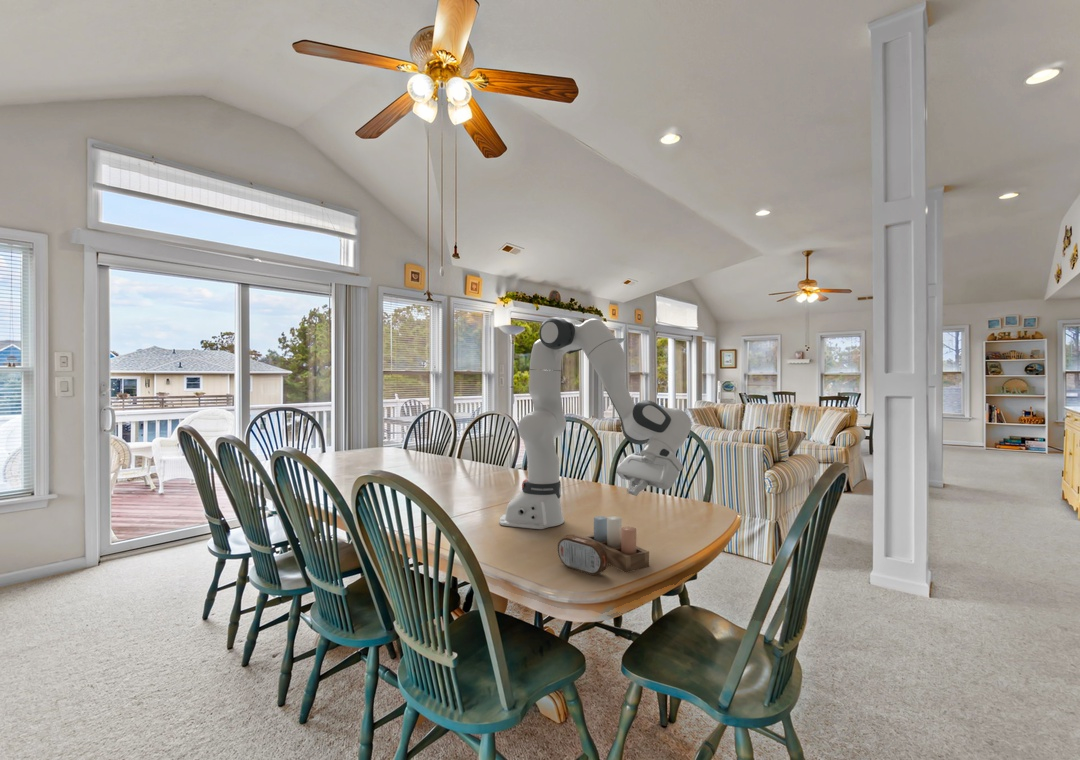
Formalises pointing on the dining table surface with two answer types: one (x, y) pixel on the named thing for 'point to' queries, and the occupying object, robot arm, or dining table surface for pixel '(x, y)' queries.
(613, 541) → the white pillar candle
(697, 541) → the dining table surface
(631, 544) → the salmon pink capsule
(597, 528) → the blue grey capsule
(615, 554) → the three candle holder
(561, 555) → the tin
